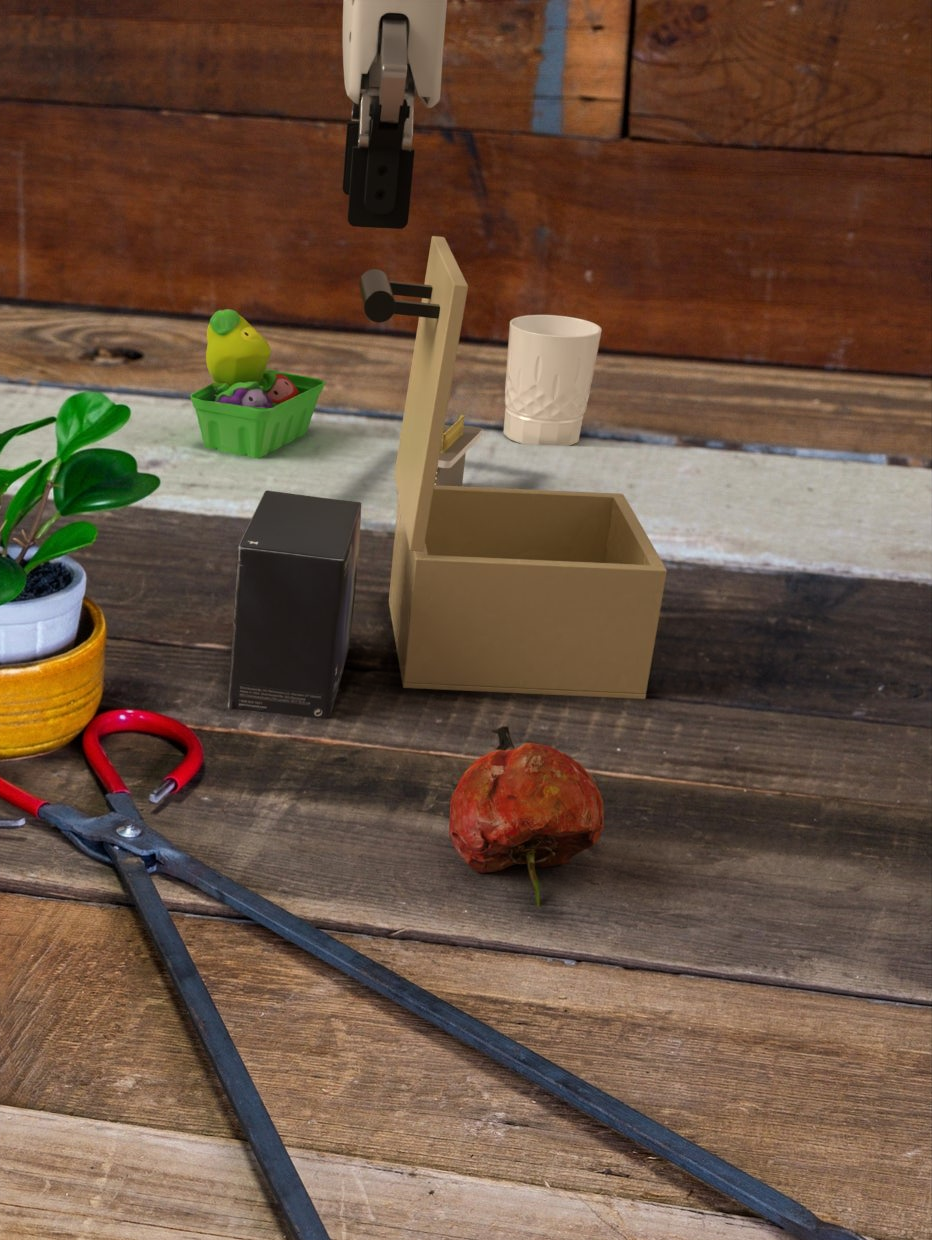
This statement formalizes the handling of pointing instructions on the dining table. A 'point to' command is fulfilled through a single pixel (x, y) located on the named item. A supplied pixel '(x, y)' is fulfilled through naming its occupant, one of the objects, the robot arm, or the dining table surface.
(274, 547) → the small box
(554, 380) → the white cup
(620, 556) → the tan open box
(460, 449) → the platform
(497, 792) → the red round fruit
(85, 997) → the dining table surface
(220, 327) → the fruit basket
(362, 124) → the robot arm
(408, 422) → the lid
